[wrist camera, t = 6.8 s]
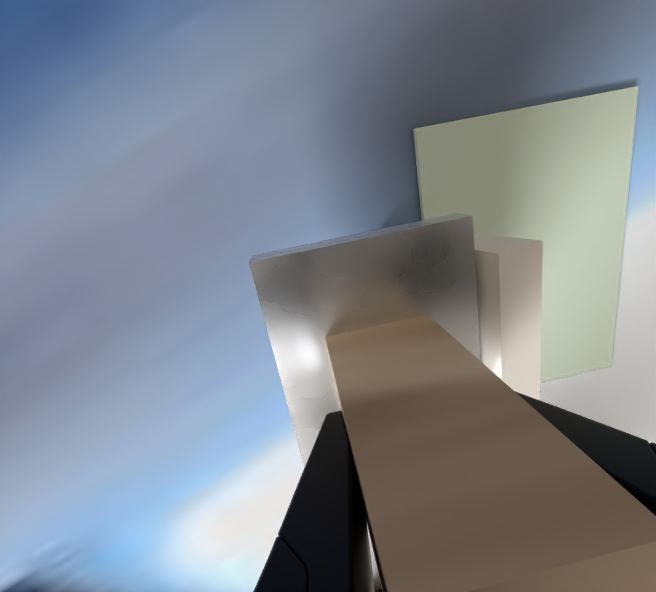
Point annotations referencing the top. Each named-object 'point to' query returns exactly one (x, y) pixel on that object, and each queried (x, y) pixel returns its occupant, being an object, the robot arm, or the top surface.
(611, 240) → the mat
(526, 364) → the tile
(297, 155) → the top surface
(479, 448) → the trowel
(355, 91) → the top surface
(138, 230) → the top surface
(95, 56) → the top surface
